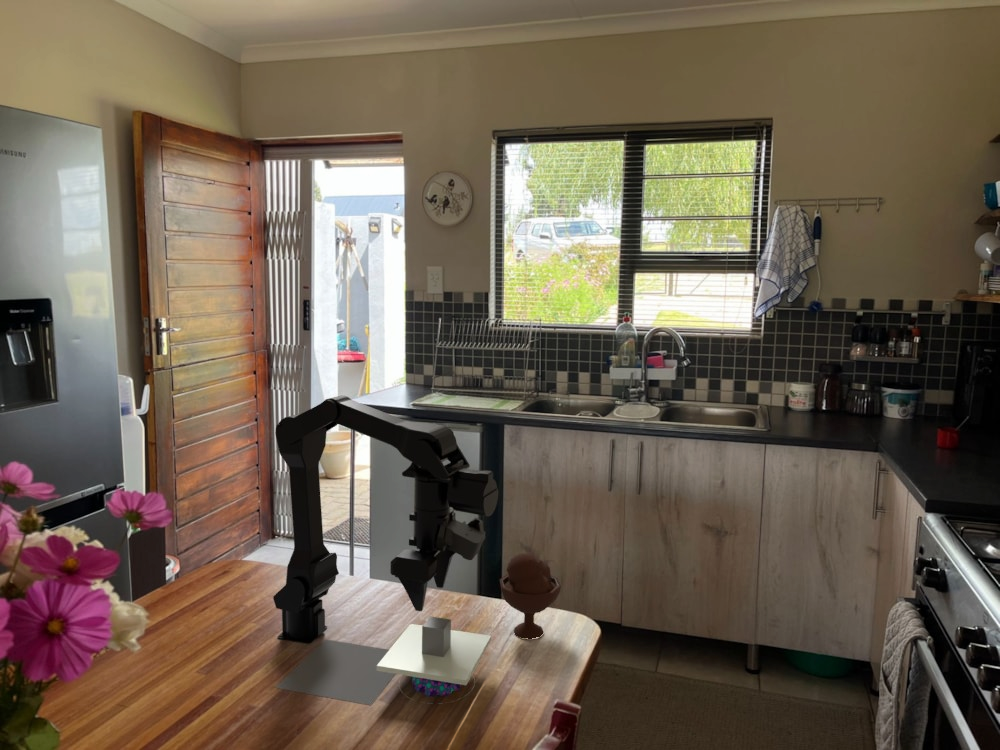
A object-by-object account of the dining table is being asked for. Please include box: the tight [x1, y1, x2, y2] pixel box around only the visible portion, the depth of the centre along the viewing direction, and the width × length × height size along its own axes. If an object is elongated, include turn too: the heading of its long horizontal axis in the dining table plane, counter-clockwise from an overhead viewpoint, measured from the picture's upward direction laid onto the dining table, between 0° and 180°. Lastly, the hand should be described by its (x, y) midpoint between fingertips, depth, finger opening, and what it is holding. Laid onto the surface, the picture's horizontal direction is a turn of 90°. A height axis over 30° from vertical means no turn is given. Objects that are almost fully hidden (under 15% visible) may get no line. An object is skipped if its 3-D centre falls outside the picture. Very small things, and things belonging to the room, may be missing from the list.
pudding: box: [398, 674, 476, 705], centre depth 118 cm, size 12×12×5 cm
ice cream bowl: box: [499, 552, 562, 639], centre depth 135 cm, size 11×11×15 cm
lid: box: [377, 616, 492, 686], centre depth 117 cm, size 14×14×5 cm
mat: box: [274, 639, 396, 706], centre depth 121 cm, size 16×16×1 cm
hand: (429, 598), depth 122 cm, fingers open, 9 cm apart
